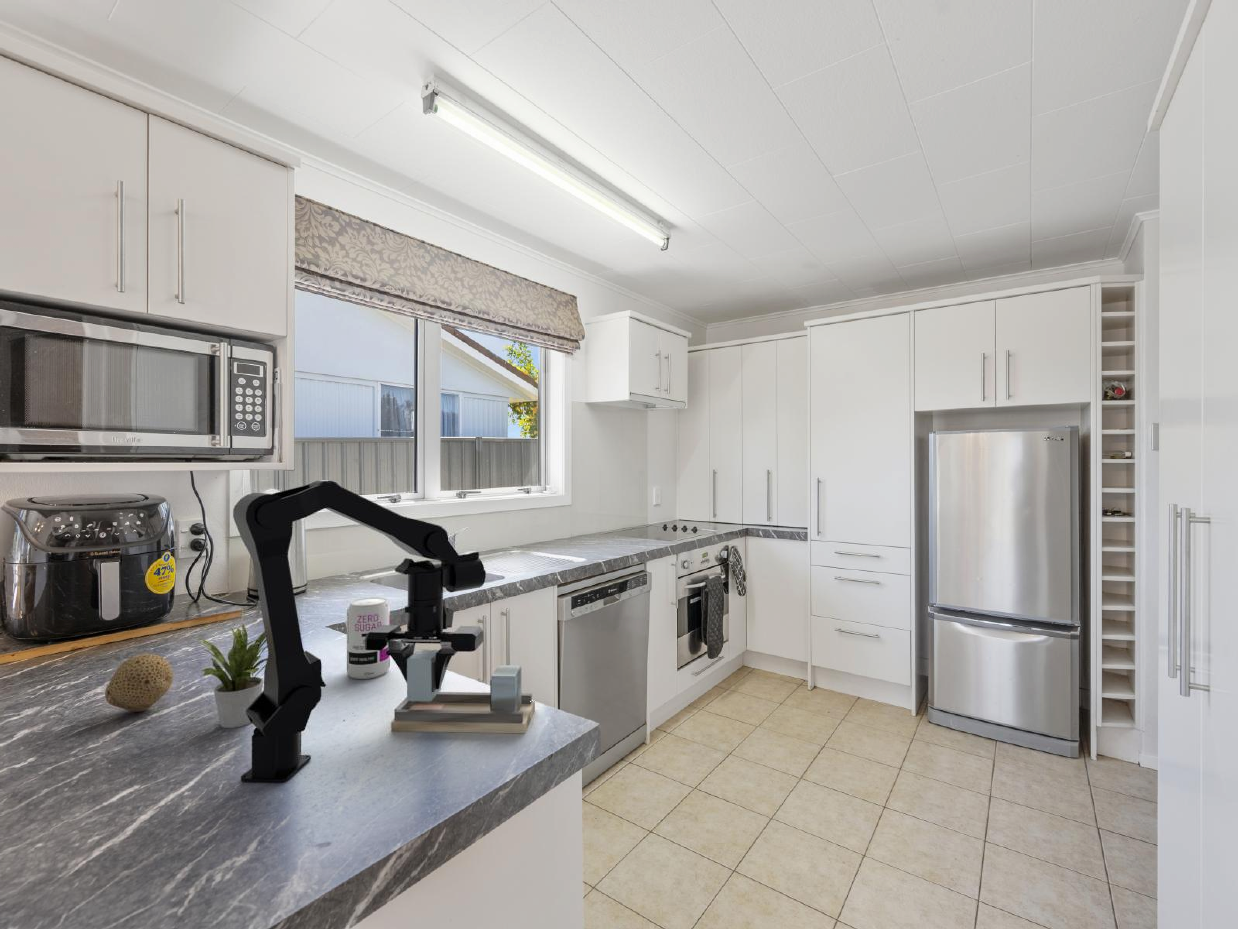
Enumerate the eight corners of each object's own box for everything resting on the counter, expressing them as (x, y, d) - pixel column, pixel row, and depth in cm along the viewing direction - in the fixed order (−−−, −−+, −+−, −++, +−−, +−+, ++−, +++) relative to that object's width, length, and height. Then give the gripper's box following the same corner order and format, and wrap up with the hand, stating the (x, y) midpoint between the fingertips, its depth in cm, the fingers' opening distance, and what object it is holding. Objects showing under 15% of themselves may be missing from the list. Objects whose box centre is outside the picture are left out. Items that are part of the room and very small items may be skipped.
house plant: (310, 715, 99) (311, 621, 99) (222, 749, 87) (222, 642, 87) (265, 698, 107) (266, 610, 107) (178, 727, 95) (179, 629, 95)
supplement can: (377, 663, 125) (377, 595, 125) (397, 672, 120) (397, 600, 120) (339, 674, 119) (339, 601, 119) (358, 683, 114) (359, 608, 114)
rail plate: (524, 733, 93) (524, 681, 93) (391, 731, 94) (391, 679, 94) (534, 709, 102) (534, 662, 102) (412, 707, 103) (412, 660, 103)
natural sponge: (182, 709, 102) (182, 653, 102) (117, 728, 94) (117, 667, 94) (162, 697, 107) (162, 644, 107) (100, 714, 100) (100, 657, 100)
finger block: (432, 701, 95) (432, 659, 95) (406, 701, 95) (407, 659, 96) (442, 689, 100) (442, 649, 100) (418, 689, 100) (418, 649, 101)
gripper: (491, 587, 106) (491, 672, 106) (392, 586, 106) (391, 670, 106) (474, 601, 94) (474, 696, 94) (363, 600, 95) (362, 694, 95)
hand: (425, 688), depth 98 cm, fingers closed on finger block, 4 cm apart
